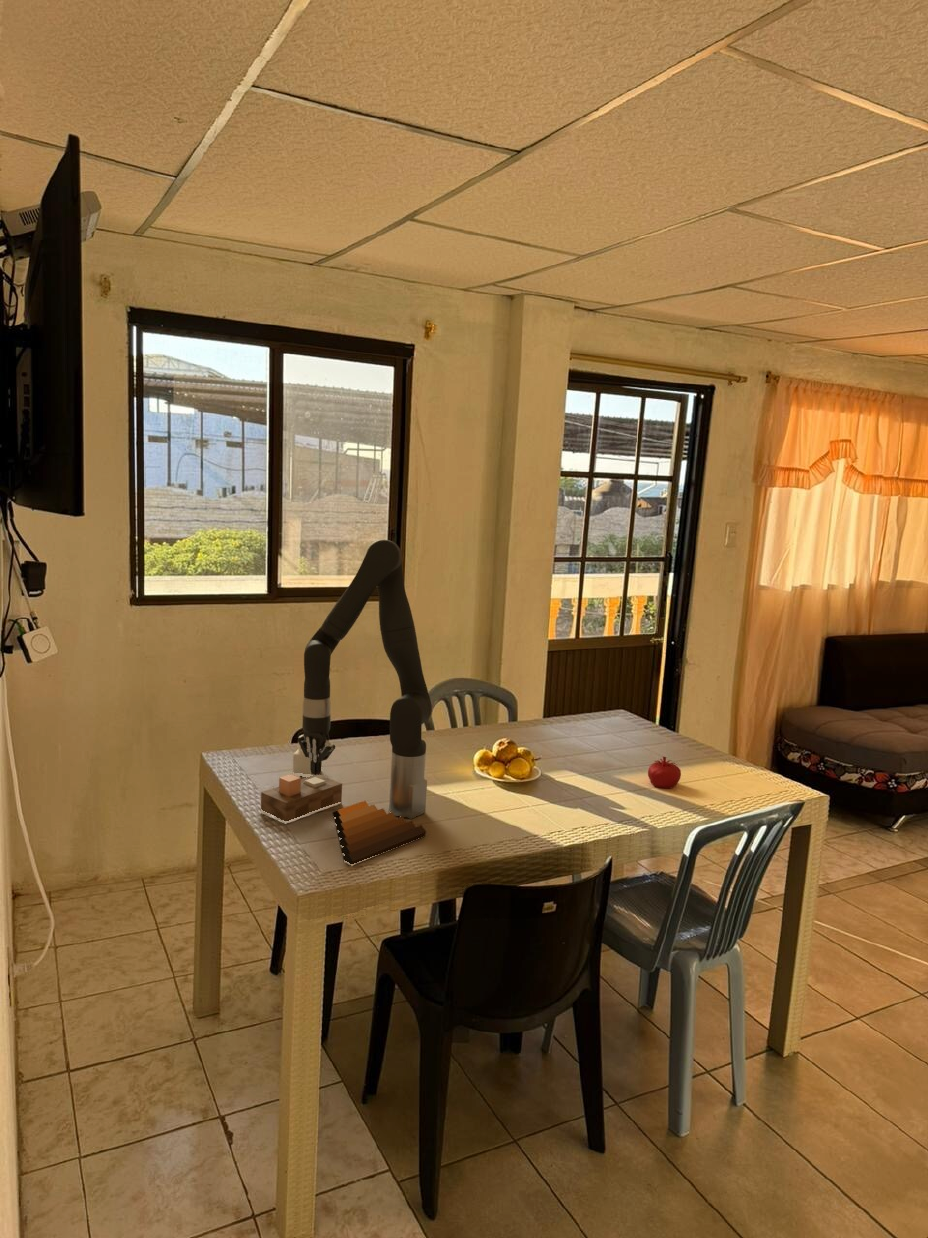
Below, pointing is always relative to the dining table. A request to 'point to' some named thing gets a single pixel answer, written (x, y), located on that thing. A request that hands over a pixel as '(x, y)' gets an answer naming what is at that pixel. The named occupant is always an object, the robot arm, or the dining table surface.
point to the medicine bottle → (301, 762)
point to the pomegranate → (664, 774)
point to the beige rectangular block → (314, 782)
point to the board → (301, 799)
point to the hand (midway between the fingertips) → (315, 773)
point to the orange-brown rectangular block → (289, 785)
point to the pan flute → (372, 831)
